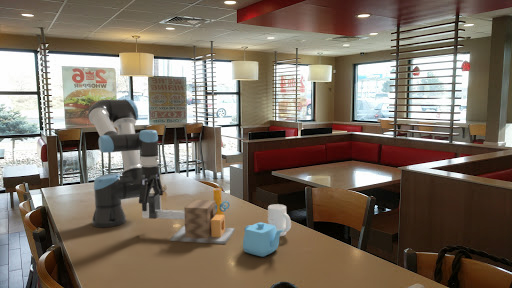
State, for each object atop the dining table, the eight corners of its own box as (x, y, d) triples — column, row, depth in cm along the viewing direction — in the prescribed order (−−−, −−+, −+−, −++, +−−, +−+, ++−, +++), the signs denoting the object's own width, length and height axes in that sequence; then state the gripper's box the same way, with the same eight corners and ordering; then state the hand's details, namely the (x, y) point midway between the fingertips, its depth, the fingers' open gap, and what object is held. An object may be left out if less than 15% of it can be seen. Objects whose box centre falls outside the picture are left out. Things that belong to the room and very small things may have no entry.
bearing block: (170, 240, 159) (168, 208, 157) (184, 227, 175) (183, 198, 173) (225, 243, 155) (224, 210, 153) (234, 230, 170) (233, 200, 169)
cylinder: (224, 223, 180) (224, 192, 178) (203, 222, 182) (203, 191, 180) (231, 215, 192) (230, 186, 190) (211, 214, 194) (211, 186, 192)
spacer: (211, 236, 160) (211, 219, 159) (216, 230, 167) (216, 214, 166) (220, 237, 159) (220, 220, 158) (225, 231, 166) (224, 214, 166)
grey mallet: (144, 218, 166) (143, 196, 165) (149, 214, 171) (148, 193, 170) (201, 220, 161) (200, 198, 160) (204, 217, 166) (204, 195, 165)
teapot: (274, 264, 135) (274, 233, 134) (235, 252, 146) (235, 223, 145) (292, 252, 145) (292, 223, 144) (254, 242, 156) (254, 215, 155)
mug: (283, 240, 157) (283, 212, 156) (264, 233, 166) (263, 206, 165) (296, 235, 163) (296, 208, 161) (277, 228, 172) (277, 203, 170)
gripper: (145, 170, 153) (147, 222, 155) (169, 161, 176) (170, 206, 179) (128, 170, 154) (131, 221, 157) (154, 160, 177) (156, 205, 180)
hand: (152, 213), depth 168 cm, fingers open, 11 cm apart
